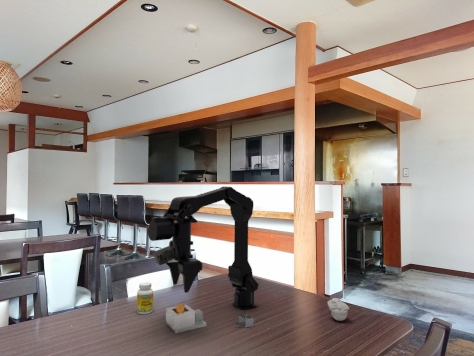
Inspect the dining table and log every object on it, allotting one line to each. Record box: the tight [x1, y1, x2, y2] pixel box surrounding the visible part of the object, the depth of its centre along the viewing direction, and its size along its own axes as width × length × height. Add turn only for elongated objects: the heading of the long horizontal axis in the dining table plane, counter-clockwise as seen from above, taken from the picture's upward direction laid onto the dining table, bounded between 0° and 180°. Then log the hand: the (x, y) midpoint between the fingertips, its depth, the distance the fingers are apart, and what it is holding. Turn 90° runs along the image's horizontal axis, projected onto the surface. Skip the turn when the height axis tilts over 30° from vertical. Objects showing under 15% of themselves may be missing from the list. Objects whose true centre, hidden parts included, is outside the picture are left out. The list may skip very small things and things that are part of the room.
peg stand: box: [165, 303, 207, 334], centre depth 106 cm, size 10×8×6 cm
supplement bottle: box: [136, 281, 154, 315], centre depth 116 cm, size 5×5×10 cm
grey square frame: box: [165, 304, 195, 329], centre depth 105 cm, size 7×7×4 cm
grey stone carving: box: [327, 297, 350, 322], centre depth 111 cm, size 6×7×7 cm
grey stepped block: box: [233, 313, 255, 328], centre depth 106 cm, size 6×4×3 cm
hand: (180, 288), depth 105 cm, fingers open, 9 cm apart
